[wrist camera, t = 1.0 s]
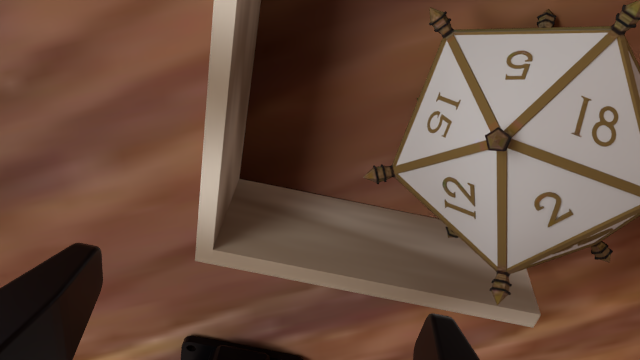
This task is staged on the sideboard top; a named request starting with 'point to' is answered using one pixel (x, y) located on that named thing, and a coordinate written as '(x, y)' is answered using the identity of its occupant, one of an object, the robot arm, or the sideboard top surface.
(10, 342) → the robot arm
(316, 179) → the sideboard top surface
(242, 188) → the cubby
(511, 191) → the game die
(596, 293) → the sideboard top surface
